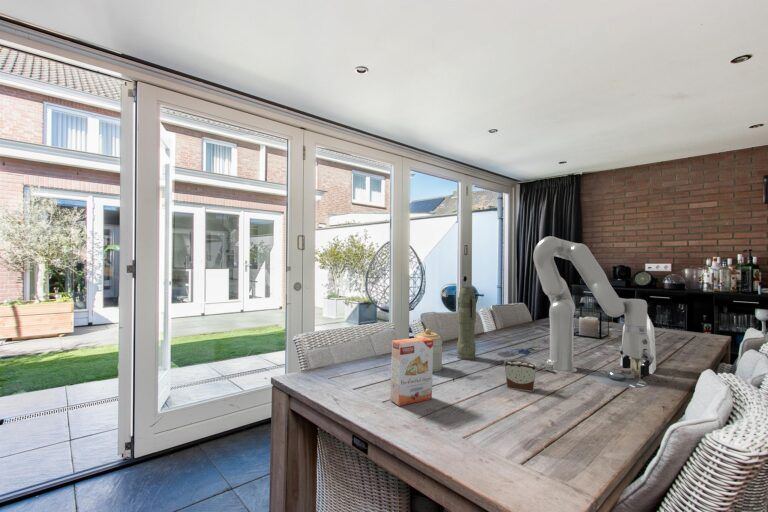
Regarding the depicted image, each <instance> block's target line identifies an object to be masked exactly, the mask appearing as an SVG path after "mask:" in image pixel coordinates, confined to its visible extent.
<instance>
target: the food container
mask: <svg viewBox="0 0 768 512" xmlns="http://www.w3.org/2000/svg"><path fill="white" fill-rule="evenodd" d="M502 367H504V370H505V371H504V373H505V381H506V382H505V383H506V388H507V389H513V390H518V391H525V392H534V391H535V390H534V389H535V380H536V373H537V371H539V370H538V366H537V364H536V363H535V362H533V361H530V360H526V359H519V358H515V359H514V358H513V359H512V358H511V359H509V358H508V359H506V360H504V362H503V365H502Z"/></svg>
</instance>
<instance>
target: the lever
mask: <svg viewBox="0 0 768 512" xmlns="http://www.w3.org/2000/svg"><path fill="white" fill-rule="evenodd" d="M607 372H608V377H609V378H611V379H616V380H625V379H626V378H635V379H641V375H640V360H639V359H635V358H633V357H631V368H630V373H628V374H627V373H626V372H624V371H622V370H616V369H609V370H607Z"/></svg>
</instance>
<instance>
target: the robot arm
mask: <svg viewBox="0 0 768 512" xmlns="http://www.w3.org/2000/svg"><path fill="white" fill-rule="evenodd" d="M534 247H535V248H534V250H533V253H532V254H533V262H534V263H533V264H534V267H535V270H536V273H537V277H538V279H539V282H540V285H541V288H542V292H544V294H545V295H546V296H547V297H548V300H549V301H550V306H549V309H548V310H549V313H548V316H549V358H547V360H545V361H543V360H539V361H538V365H539V366H540V367H541V366H542V367H543V366H544V367H545V369H546V370H547V371H549V372H551V373H555V374H557V372H560V373H562V372H563V373H575V372H577V371H578V369H577V368H576V367H574V333H575V332H574V314H575V312H576V305H575V302H574V299H573V297H572V295H571V292H570V288H569V287H568V284H567V282H566V280H565V279H564V278H563V277H562V276H561V275H560V272H559V270H558V267H557V265H556V262H555V259H554V258H555V257H557V258H561V259H564V260H568V261H571V263H572V265H573V266H574V268H575V269H576V271H577V273H579V275H580V276H581V278H582V279H583V282H584V283H585V284H586V286H587V288H588V289H589V290H590V292H591V294H592V295H593V297H594V298H595V300H596V302H597V303H598V304H599V306H600V307H601V309H602V310H603V312H604V313H605V315H607V316H609V317H612V318H618V317H621V316H622V315H624V324H625V331H624V336H623V345H622V344H621V345H619V346H618V349H619V354H620V358H621V357H622V358H623V359H622V366H621V367H622V369H631V359H630V357H633V358H635V359H639V360H640V362H641V364H642V365H641V366H640V377H641V376H642V377H648V376H650V373H649V366H650V365H651V363H652V361H653V359H654V356H653V355H652V354H651V350H650V341H649V336H648V335H647V314H648V303H647V301H646V300H645V299H641V298H622V297H619V295H618V294H617V292H616V291H615V289H614V288H613V287H612V285H611V283H610V282H609V279H608V276H607V275H606V273H605V271H604V269H603V268H602V267H601V265H600V264H599V262H598V261H597V259H596V258H595V256H594V255H593V253H592V252H591V250H590V248H589V247H588V246H587V245H585V244H584V243H578V242H573V241H569V240H565V239H562V238H560V237H559V238H558V237H556V236H551V235H549V236H545V237H544V238H543V237H542V239H541V240H540V241H539V242H538V243H537V244H536V245H535V246H534ZM621 355H622V356H621ZM643 360H645V362H644V361H643Z"/></svg>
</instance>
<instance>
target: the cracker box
mask: <svg viewBox="0 0 768 512" xmlns="http://www.w3.org/2000/svg"><path fill="white" fill-rule="evenodd" d="M390 361H391V363H390V369H391V370H390V402H392V403H394V404H395V405H397V406H398V407H400V406H406V405H410V404H415V403H419V402H423V401H424V402H425V401H428V400H431V399H433V373H434V372H433V340H432V339H429V338H426V337H419V338H416V337H412V338H401V339H395V340H394V339H393V340H392V341H391V360H390Z"/></svg>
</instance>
